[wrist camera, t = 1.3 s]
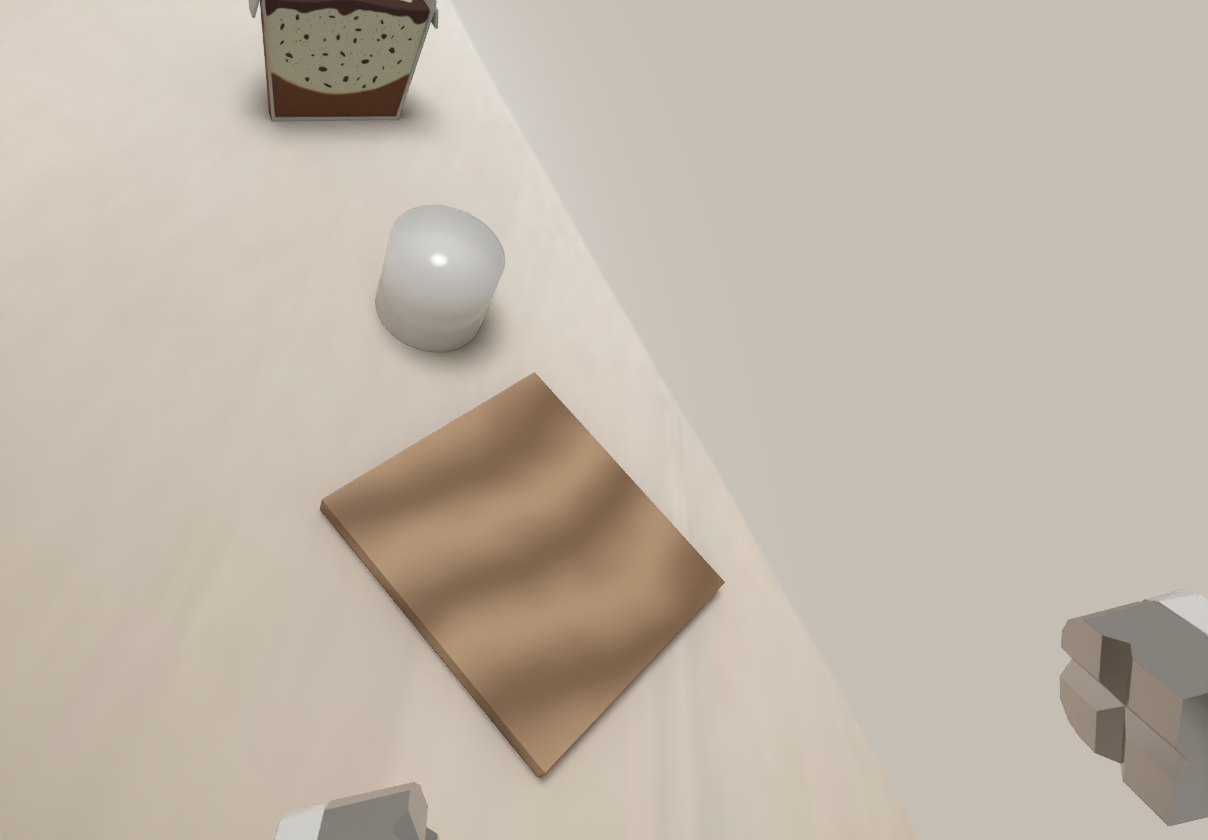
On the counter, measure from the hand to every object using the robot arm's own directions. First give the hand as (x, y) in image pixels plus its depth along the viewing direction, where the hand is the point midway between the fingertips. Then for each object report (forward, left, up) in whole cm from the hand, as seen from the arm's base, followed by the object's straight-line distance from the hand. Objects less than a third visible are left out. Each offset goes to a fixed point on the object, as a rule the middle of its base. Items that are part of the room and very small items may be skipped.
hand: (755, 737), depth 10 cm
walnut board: (-7, +16, -32) cm, 37 cm away
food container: (-44, +28, -32) cm, 61 cm away
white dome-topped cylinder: (-24, +22, -32) cm, 46 cm away
